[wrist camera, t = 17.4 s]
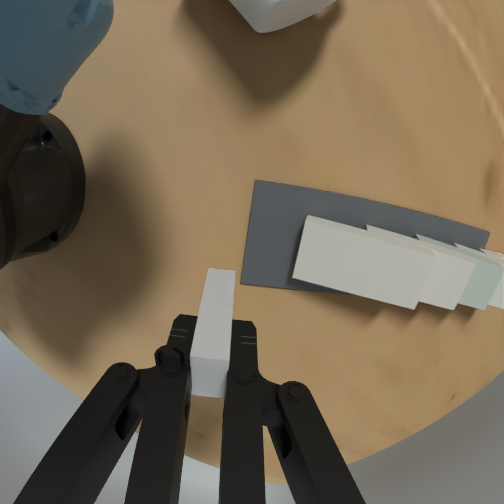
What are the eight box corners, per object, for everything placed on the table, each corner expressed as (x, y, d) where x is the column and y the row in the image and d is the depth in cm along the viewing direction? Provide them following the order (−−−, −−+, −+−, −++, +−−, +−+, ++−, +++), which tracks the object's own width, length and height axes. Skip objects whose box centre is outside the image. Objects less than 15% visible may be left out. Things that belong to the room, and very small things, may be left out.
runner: (240, 281, 28) (240, 283, 27) (255, 179, 23) (255, 180, 23) (459, 300, 29) (460, 301, 29) (488, 231, 25) (490, 232, 25)
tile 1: (292, 277, 25) (414, 309, 22) (305, 220, 23) (437, 257, 20) (295, 268, 27) (411, 299, 24) (307, 214, 24) (431, 249, 22)
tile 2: (350, 283, 25) (453, 310, 23) (367, 230, 23) (475, 264, 20) (350, 274, 27) (449, 301, 24) (366, 224, 25) (469, 256, 22)
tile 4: (441, 291, 26) (508, 310, 23) (459, 248, 24) (526, 273, 21) (437, 284, 28) (503, 302, 25) (453, 242, 25) (520, 266, 23)
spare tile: (401, 287, 26) (484, 310, 23) (419, 239, 23) (504, 269, 21) (398, 279, 27) (479, 302, 25) (415, 233, 25) (498, 262, 22)
